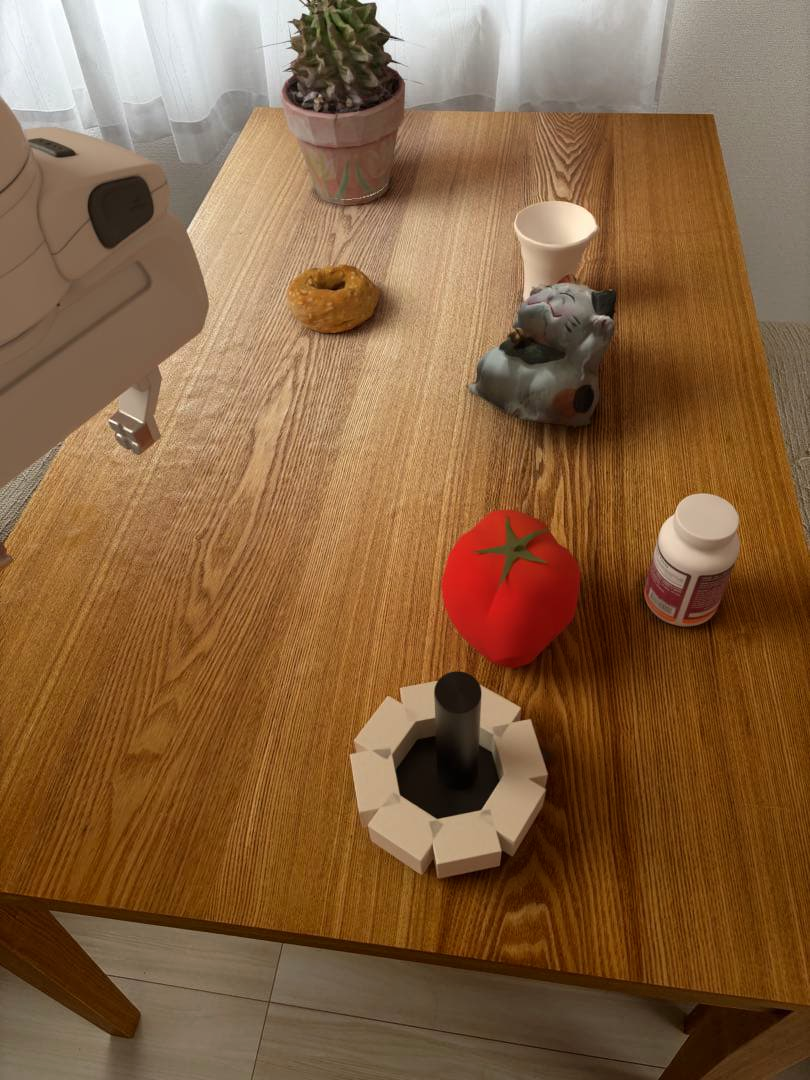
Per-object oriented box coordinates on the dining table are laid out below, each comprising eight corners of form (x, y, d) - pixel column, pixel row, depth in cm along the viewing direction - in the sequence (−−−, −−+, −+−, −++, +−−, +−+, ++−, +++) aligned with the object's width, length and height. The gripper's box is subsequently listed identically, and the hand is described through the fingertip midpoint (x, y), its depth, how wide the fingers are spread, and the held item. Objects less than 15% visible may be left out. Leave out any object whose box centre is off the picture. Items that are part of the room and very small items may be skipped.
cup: (578, 329, 97) (589, 250, 89) (499, 313, 100) (503, 234, 92) (598, 284, 102) (609, 205, 94) (522, 269, 105) (527, 192, 97)
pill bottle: (717, 575, 75) (751, 491, 67) (716, 635, 72) (752, 553, 63) (644, 565, 76) (668, 480, 68) (640, 622, 73) (664, 541, 64)
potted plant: (394, 237, 110) (381, 24, 91) (262, 207, 116) (224, 0, 96) (450, 169, 120) (450, -37, 100) (327, 144, 126) (303, -55, 106)
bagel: (395, 319, 100) (393, 283, 96) (307, 349, 97) (301, 314, 93) (360, 274, 105) (357, 239, 102) (276, 302, 103) (269, 267, 99)
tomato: (444, 689, 70) (443, 619, 62) (439, 563, 78) (438, 487, 70) (584, 686, 69) (600, 615, 61) (565, 559, 77) (578, 482, 69)
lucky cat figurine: (449, 377, 93) (486, 246, 87) (543, 390, 98) (585, 266, 92) (510, 434, 81) (558, 287, 75) (614, 446, 86) (667, 308, 80)
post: (478, 871, 61) (483, 797, 50) (364, 793, 65) (347, 711, 54) (548, 759, 66) (566, 672, 55) (439, 694, 69) (436, 600, 59)
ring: (478, 914, 58) (479, 900, 55) (320, 806, 63) (315, 790, 60) (572, 756, 64) (576, 738, 62) (422, 670, 69) (421, 651, 67)
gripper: (-300, 460, 25) (-71, 692, 36) (193, 149, 35) (255, 404, 46) (-400, 382, 27) (-158, 622, 38) (87, 113, 37) (170, 363, 48)
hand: (70, 501), depth 42 cm, fingers open, 8 cm apart
